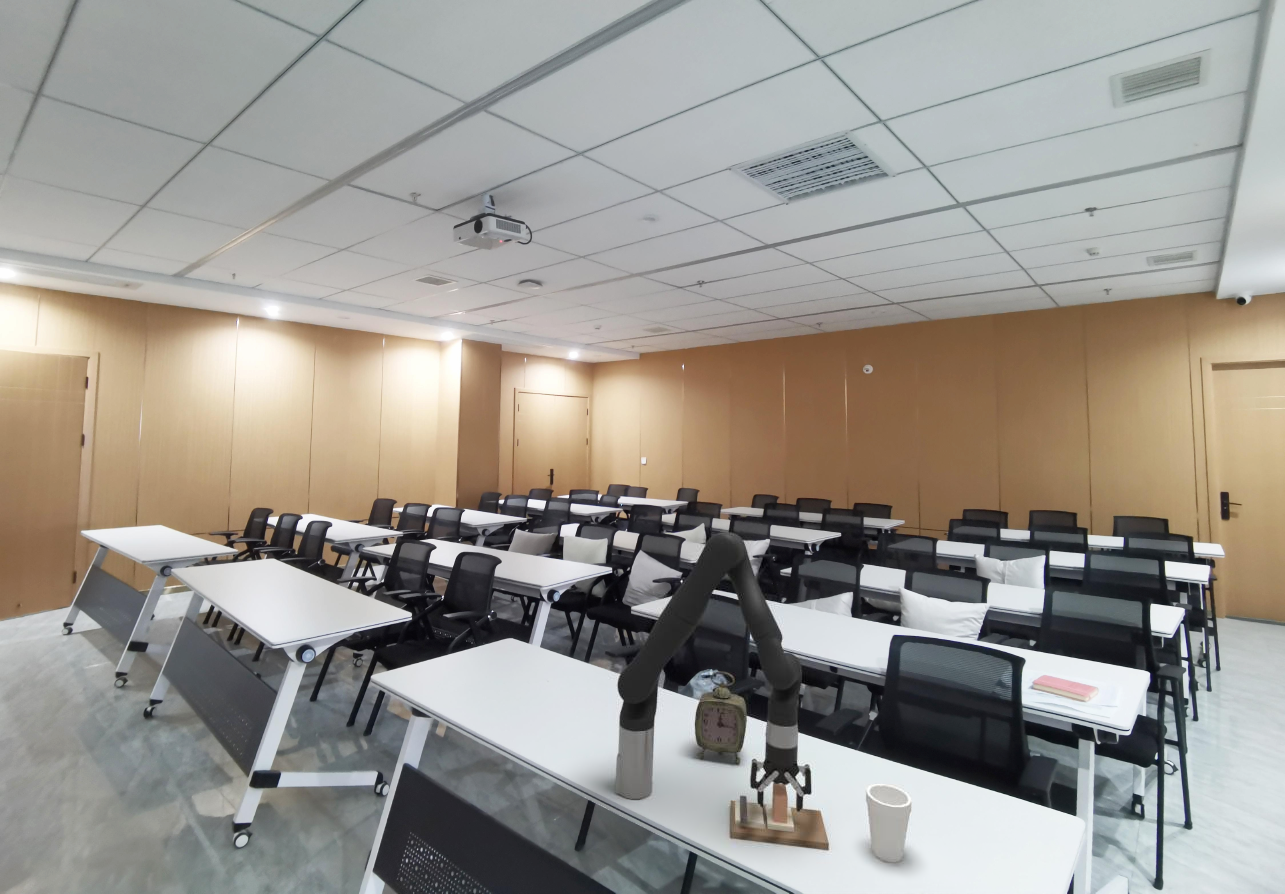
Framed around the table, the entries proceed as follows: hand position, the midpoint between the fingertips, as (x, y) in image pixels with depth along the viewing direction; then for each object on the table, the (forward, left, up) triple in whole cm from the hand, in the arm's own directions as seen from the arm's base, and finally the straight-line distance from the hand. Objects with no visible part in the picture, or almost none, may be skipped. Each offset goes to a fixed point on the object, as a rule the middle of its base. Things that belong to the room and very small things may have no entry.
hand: (779, 807), depth 146 cm
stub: (0, 0, -3) cm, 3 cm away
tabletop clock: (-15, +32, -5) cm, 35 cm away
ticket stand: (-1, 0, -5) cm, 5 cm away
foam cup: (+23, -5, -5) cm, 25 cm away
